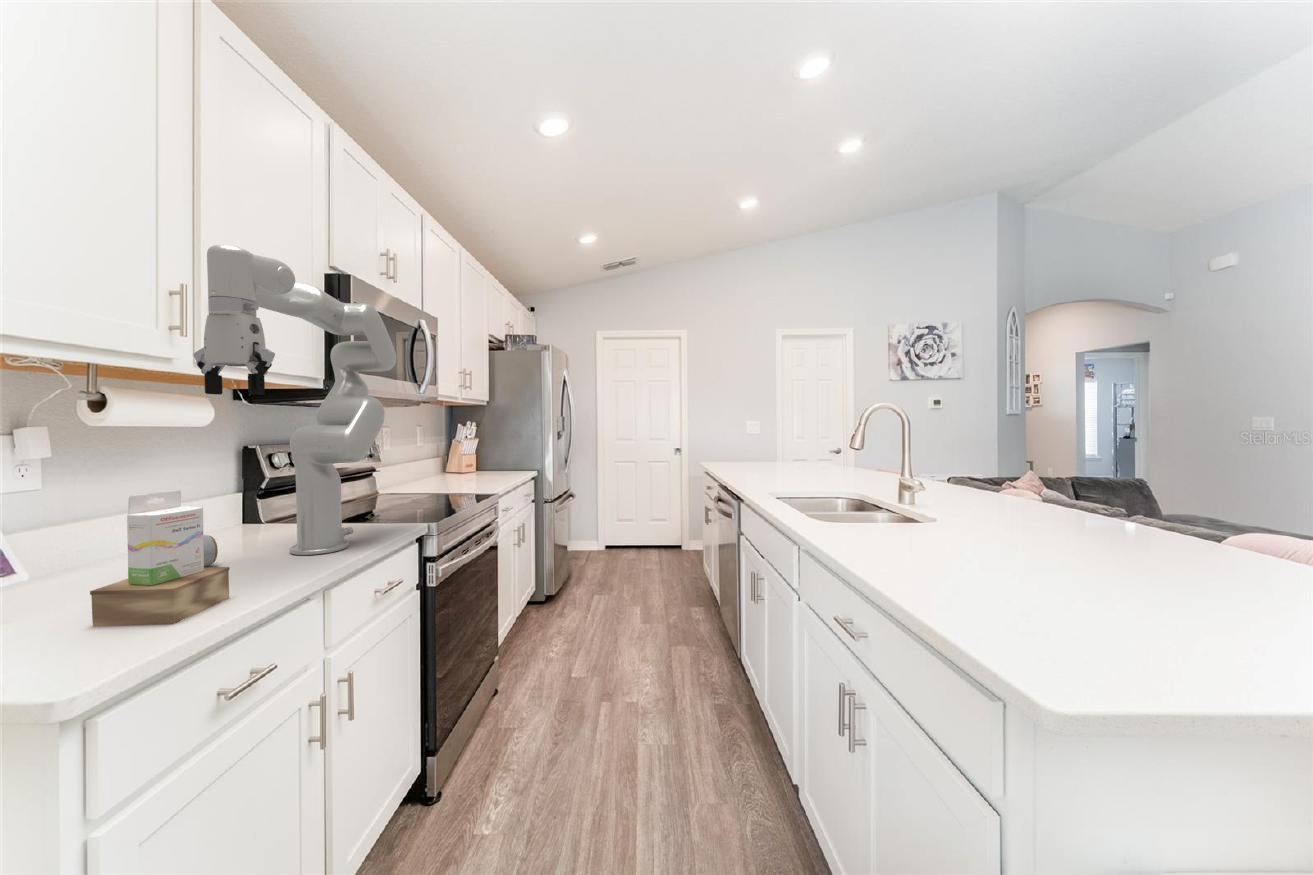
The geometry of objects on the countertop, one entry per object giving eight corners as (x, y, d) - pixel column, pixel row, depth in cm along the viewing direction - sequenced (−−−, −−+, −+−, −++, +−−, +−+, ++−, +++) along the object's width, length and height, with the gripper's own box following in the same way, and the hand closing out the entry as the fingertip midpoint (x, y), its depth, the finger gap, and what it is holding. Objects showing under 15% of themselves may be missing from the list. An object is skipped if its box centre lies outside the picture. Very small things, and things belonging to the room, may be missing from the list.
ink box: (151, 586, 83) (149, 496, 82) (126, 584, 84) (124, 495, 83) (206, 571, 92) (204, 489, 91) (183, 569, 92) (181, 488, 92)
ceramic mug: (220, 567, 114) (219, 533, 114) (173, 577, 107) (172, 540, 106) (197, 561, 119) (196, 529, 118) (151, 571, 111) (149, 536, 111)
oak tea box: (158, 601, 93) (157, 568, 93) (230, 599, 94) (229, 567, 94) (91, 629, 81) (89, 591, 81) (174, 626, 82) (173, 589, 82)
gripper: (287, 312, 106) (288, 394, 107) (212, 314, 108) (215, 395, 109) (254, 304, 99) (257, 393, 99) (175, 306, 101) (178, 393, 101)
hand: (235, 394), depth 104 cm, fingers open, 9 cm apart
